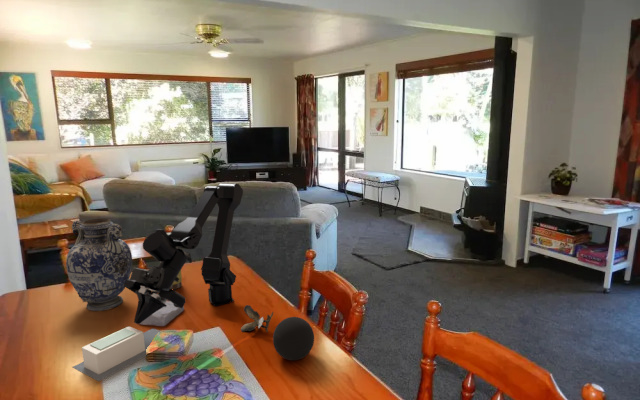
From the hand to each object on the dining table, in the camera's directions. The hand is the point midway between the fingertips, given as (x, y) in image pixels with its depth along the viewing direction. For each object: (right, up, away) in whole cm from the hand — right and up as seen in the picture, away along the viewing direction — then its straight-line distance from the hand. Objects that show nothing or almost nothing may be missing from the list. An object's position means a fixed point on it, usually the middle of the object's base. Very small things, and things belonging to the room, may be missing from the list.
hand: (136, 323), depth 104 cm
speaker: (+40, -7, -4) cm, 41 cm away
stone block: (-1, -5, +19) cm, 19 cm away
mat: (-1, -8, -1) cm, 8 cm away
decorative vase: (-23, -3, +30) cm, 38 cm away
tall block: (0, -4, +1) cm, 4 cm away
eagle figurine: (+29, -5, +11) cm, 31 cm away
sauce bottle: (-6, 0, +43) cm, 44 cm away
